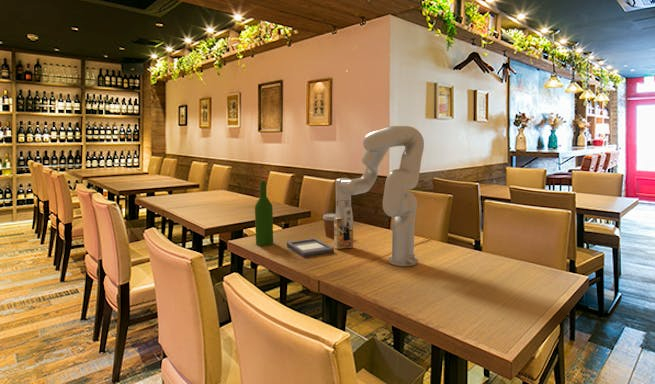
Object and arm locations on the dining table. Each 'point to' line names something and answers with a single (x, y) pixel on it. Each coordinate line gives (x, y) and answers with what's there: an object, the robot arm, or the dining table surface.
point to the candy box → (341, 235)
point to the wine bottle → (263, 219)
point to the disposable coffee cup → (329, 224)
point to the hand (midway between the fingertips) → (343, 238)
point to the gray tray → (310, 247)
